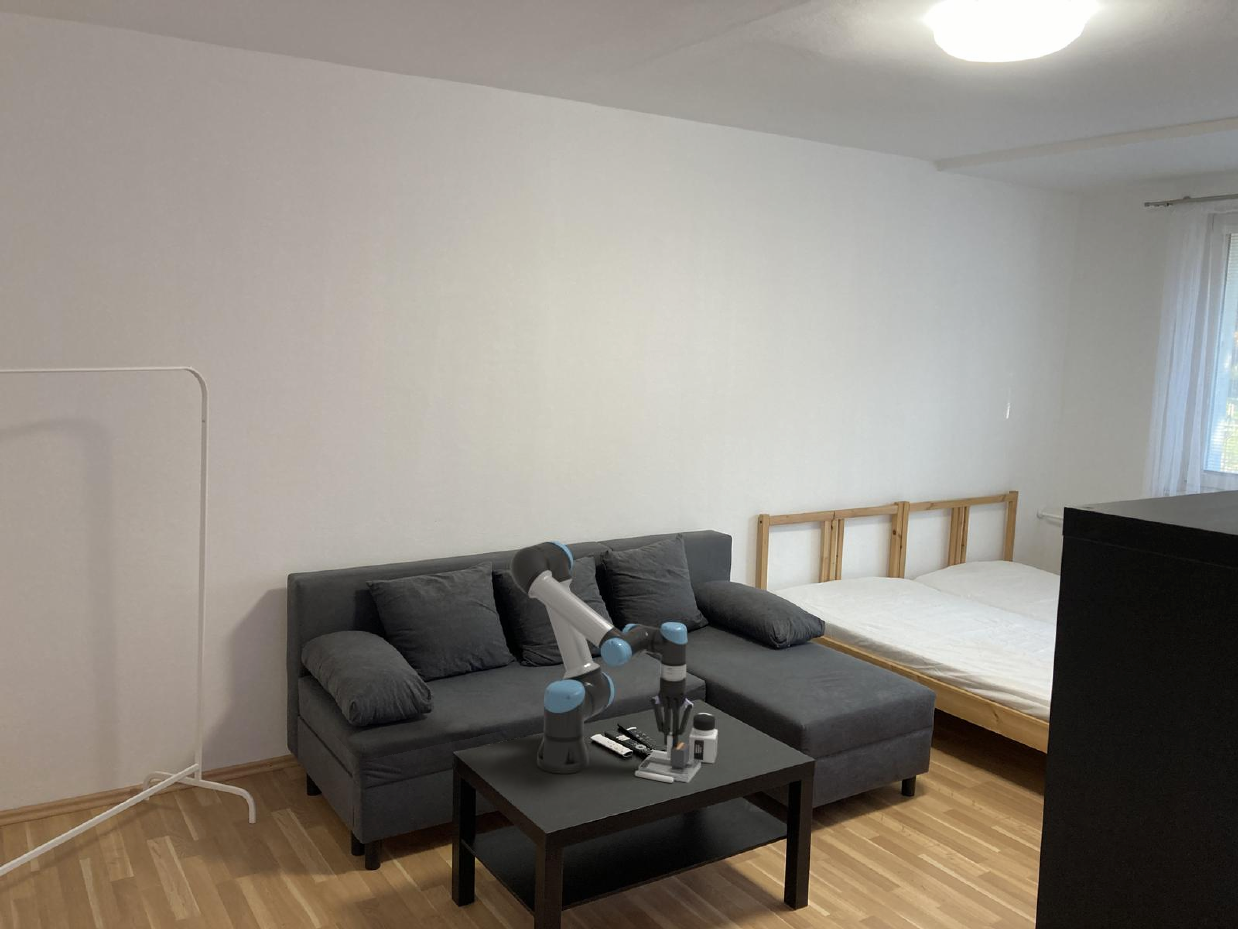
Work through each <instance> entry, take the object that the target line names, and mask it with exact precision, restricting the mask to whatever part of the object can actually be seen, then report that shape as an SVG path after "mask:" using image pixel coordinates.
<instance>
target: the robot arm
mask: <svg viewBox="0 0 1238 929" xmlns="http://www.w3.org/2000/svg"><path fill="white" fill-rule="evenodd" d="M573 565H574V558H573V555H572V552H571V551H570V549H569V548H568V547H567V546H566V545H565V544H563V543H561V542H559V541H555V540H552V541H545V542H541V543H540V542H539V543H537V544H534V545H531V546H525V547H522V548H520V549H519V550H518V551H516V553H515V554H514V555H513V556H512V558H511V561H510V566H509V570H510V571H509V572H510V575H511V578H512V580H513V582H514V584H515V585H516V586H517V587H518V588H519V589H520V590H521V592H523V593H524V594H525V595H527V597H529V598H530V599H537V600H539V601H540V602H541V603H542V604H543V605H545V608H546V611H547V614H548V617H549V620H550V623H551V627H552V630H553V633H554V636H555V640H556V643H557V646H558V648H559V653H560V656H561V658H562V662H563V665H564V667H565V673H564V675H563V678H562V680H556V681H554V682H552V683H550V684H549V685H548V686H547V687H546V689H545V690H544V697H543V738H542V740H541V743H540V747H539V749H538V751H537V754H536V756H537V757H536V764H537V767H538V768H540V770H543V771H545V772H548V773H553V774H573V773H579V772H581V771H583V770H585V769H587V767H589V765H590V764H589V762H590V759H589V758H590V756H589V753H588V749H587V746H586V742H585V739H584V728H585V727H584V724H585V723H584V722H585V721H587V720H589V719H591V718H592V717H593V716H596V715H597V714H601V713H602V712H604V711H605V710H606V709H607V708H608V707H610V705H611V704H612V702H613V700H614V696H615V688H614V687H615V686H614V683H613V680H612V679H611V677H610V676H609V675H607V674H606V673H605V671H602V670H601V665H600V664H598V663H596V662H594V661H593V658H592V654H591V651H590V648H589V645H588V641H589V642H590V643H592V645H594V646H596V647H597V648H598V649H599V650H600V655H601V657H602V659H603V662H604V663H606V664H607V665H609V666H611V667H618V666H621V665H624V664H626V663H628V662H629V661H631V660H632V659H634V658H637V657H639V656H641V655H643V654H644V653H645V654H651V655H656V656H657V655H659V658H660V662H659V675H660V677H659V691H658V693H657V695H656V696H652V698H651V699H650V700H649V701H650V704H651V706H652V707H653V711H654V717H655V722H656V727H657V731H658V732H659V733H663V736H664V737H663V744H664V745H665V746H666V752H667V758H671V748H672V747H673V746H674V747H676V746H677V745H678V743H679V736H682V735H683V734H684V733H685V732H686V728H687V725H688V721H689V717H690V714H691V710H692V709H693V707H694V706H695V702H693V701H690V700H688V696H687V694H686V690H687V689H686V687H687V685H686V684H687V679H686V677H687V652H688V642H689V641H688V640H689V639H688V630H687V626H686V625H685V624H684V623H681V622H673V621H670V622H669V621H668V622H663V623H662V624H661V626H660V627H654V626H648V625H644V624H640V623H636V624H635V623H628V624H626V625H625V626H624V628H623V629H622V631H621V630H620V629H618V628H617V627H615V625H613V624H612V623H610V621H608V620H607V619H605V618H604V617H603V616H601V615H600V614H599V613H598V612H597V611H595V610H594V609H593V608H592V607H590V606H589V605H588V604H587V603H585V602H584V601H583V600H582V599H580V598H579V597H578V596H577V595H575V594H574V593H573V592H572V591H571V588H570V585H571V584H572V580H573V578H572V575H571V573H570V572H571V571H572V567H573ZM587 640H588V641H587ZM660 702H661V703H660ZM661 704H662V706H663V711H662V708H661ZM683 705H684V710H683V711H684V712H683V713H682V714H683V715H682V718H681V722H680V711H681V707H682V706H683ZM662 712H664V713H662ZM663 714H664V715H663ZM671 722H672V728H671ZM671 731H672V732H671Z"/></svg>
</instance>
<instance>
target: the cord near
mask: <svg viewBox="0 0 1238 929" xmlns="http://www.w3.org/2000/svg"><path fill="white" fill-rule="evenodd" d="M634 775H635V776H636V777H638V778H643V779H648V780H654V781H660V782H665V783H670V784H672V783H674V781H675V780H674V779H673V777H669V776H664V775H658V774H653V773H648V772H643V771H639V770H635V772H634Z"/></svg>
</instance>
